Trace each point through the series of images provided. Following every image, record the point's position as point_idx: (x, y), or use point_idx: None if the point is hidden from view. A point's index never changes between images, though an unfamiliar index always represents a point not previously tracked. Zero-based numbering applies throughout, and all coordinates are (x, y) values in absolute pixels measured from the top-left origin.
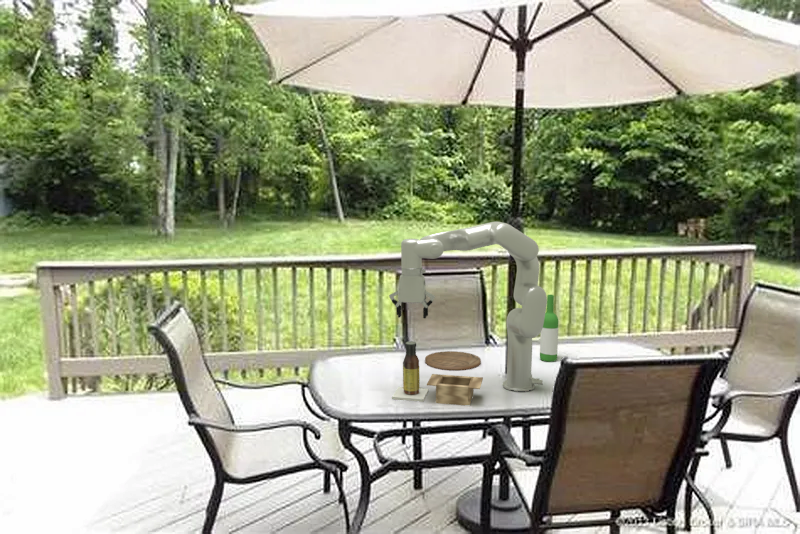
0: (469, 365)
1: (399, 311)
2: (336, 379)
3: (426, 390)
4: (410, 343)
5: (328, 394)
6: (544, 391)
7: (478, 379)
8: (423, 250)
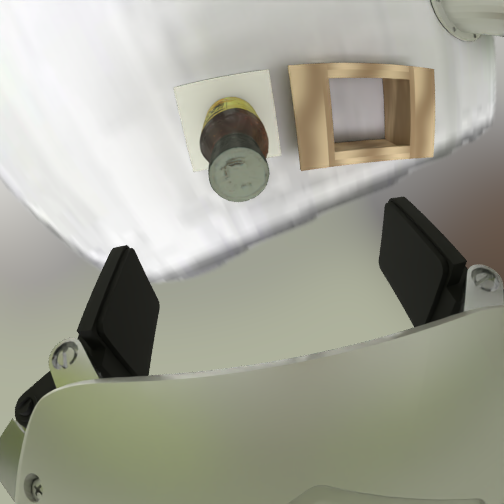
0: None
1: (149, 350)
2: (7, 117)
3: (266, 85)
4: (243, 190)
5: (52, 209)
6: (492, 36)
7: (426, 88)
8: None
